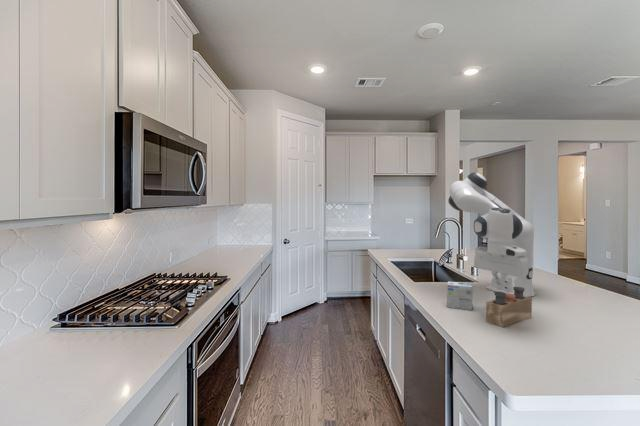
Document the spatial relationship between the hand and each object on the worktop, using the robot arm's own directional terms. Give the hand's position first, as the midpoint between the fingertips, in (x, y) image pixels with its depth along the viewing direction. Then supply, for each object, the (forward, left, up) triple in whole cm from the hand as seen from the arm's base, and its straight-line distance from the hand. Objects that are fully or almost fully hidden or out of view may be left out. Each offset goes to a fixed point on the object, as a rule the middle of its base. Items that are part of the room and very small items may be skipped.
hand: (499, 283), depth 128 cm
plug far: (0, +14, -12) cm, 18 cm away
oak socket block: (0, +7, -16) cm, 17 cm away
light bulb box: (-20, +4, -16) cm, 26 cm away
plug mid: (0, +7, -14) cm, 16 cm away
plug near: (0, 0, -12) cm, 12 cm away
